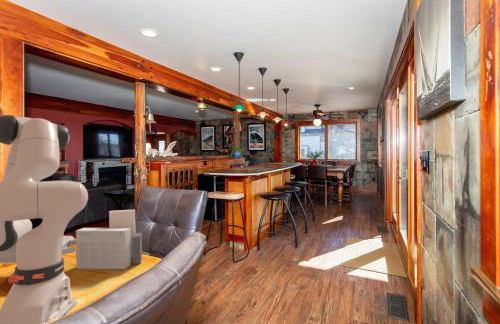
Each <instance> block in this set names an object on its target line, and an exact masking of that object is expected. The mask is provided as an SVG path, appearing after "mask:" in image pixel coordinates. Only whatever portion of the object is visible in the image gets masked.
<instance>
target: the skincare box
mask: <svg viewBox="0 0 500 324" xmlns="http://www.w3.org/2000/svg"><path fill="white" fill-rule="evenodd" d="M75 240H76V245H75V256H76V257H75V259H76V260H75V261H76V262H75V264H76V265H75V268H76V269H78V270H83V269H85V270H127V268H129V267H130V266H131V265H132V264H131V262H132V261H131V260H132V259H131V244H130V228H109V227H82V228H80V229H77V230H75Z"/></svg>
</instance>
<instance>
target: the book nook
mask: <svg viewBox="0 0 500 324" xmlns="http://www.w3.org/2000/svg"><path fill="white" fill-rule="evenodd" d="M108 213H109V214H108V215H109V216H108V217H109V219H108V220H109V221H108V222H109V223H108V224H109V225H108V228H130V244H131V260H132V264H133V265H141V264H142V261H143V237H142V236H143V232H136V209H124V210H123V209H122V210H110V211H108Z"/></svg>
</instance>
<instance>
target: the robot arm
mask: <svg viewBox="0 0 500 324" xmlns="http://www.w3.org/2000/svg"><path fill="white" fill-rule="evenodd" d="M69 141H70V132H69V129H68V128H67V126H65V125H62V124H59V123H53V122H51V121H49V120H47V119H44V118H39V117H38V118H37V117H35V118H34V117H33V118H32V117H27V116H15V115H11V114H8V115H7V114H5V115H4V114H3V115H1V116H0V144H4V145H7V146H10V145H11V146H10V149H9V151H8V156H7V160H6V166H5V171H4V174H3V179H2V180H0V264H13V263H16V266H15V267H14V271H13V275H12V274H11V275H10V276H9V277H8V281H7V282H8V283H9V284H12V285H11V287H10V290H9V291H8V293H7V295H6V297H5V299H4V301H3V303H2V304H1V307H0V324H46V323H50V321H51V322H53V321H54V320H57V319H59V318H61V319H63V317H64V316H65V315H66V314H67V313H68V312H69V311H70V310H71V309H73V307H75V305H76V304H77V299H76V298H74V297H72V292H71V282H70V277H69V276H68V275H67V274H65V272H64V271H65V259H64V257H63V256H64V255H68V254H73V253H74V252H76V247H72V246H76V238H75V239H74V236H72V235H64V232H65V231H66V228H67V226H68V224H69V223H70V222H71V220H72V219H73V218H74V217H75V216H76V215H77V214H79V213H80V212H81V211H83V209H84V208H85V207H86V206H87V203H88V201H89V194H88V190H87V188H86V187H85V185H84V184H82V183H81V182H80V181H73V180H50V181H49V180H47V181H46V180H45V181H42V180H44V179H46V178H49V177H50V176H53V175H54V174H55V173H56V172H57V171H58V170H59V168H60V163H61V162H60V160H61V159H60V151H62V150H65V149H66V148H67V146H68V144H69ZM33 219H34V220H35V219H42V222H41V223H40V224H39V225H38V226H36V227H35V228H33V223H32V221H31V220H33ZM64 314H65V315H64ZM53 318H55V319H54V320H51V319H53ZM49 320H50V321H49Z"/></svg>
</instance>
